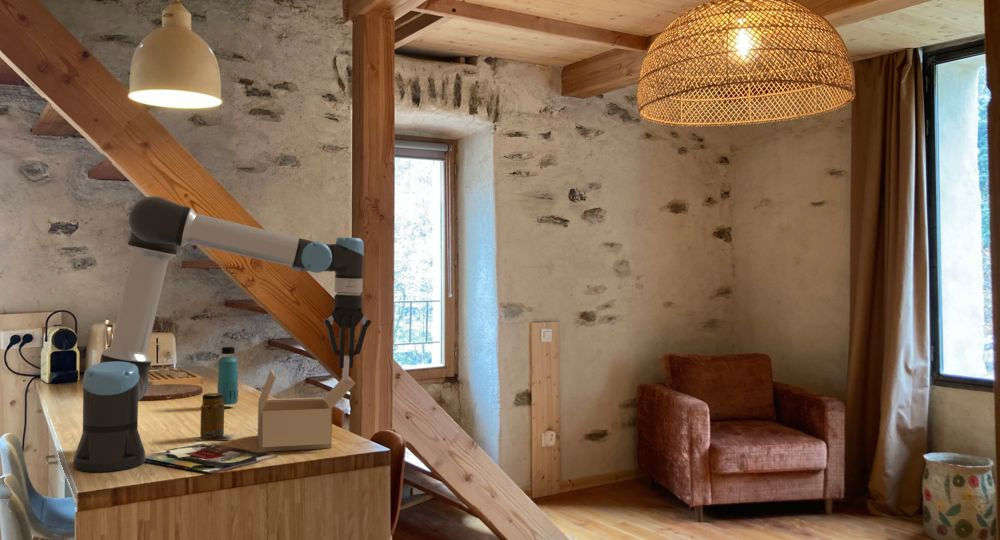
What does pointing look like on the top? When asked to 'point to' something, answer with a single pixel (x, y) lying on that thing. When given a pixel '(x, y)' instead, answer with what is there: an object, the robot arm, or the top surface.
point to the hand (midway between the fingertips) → (345, 379)
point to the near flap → (296, 427)
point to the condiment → (212, 418)
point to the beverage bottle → (228, 377)
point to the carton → (290, 406)
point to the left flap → (266, 389)
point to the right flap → (338, 392)
